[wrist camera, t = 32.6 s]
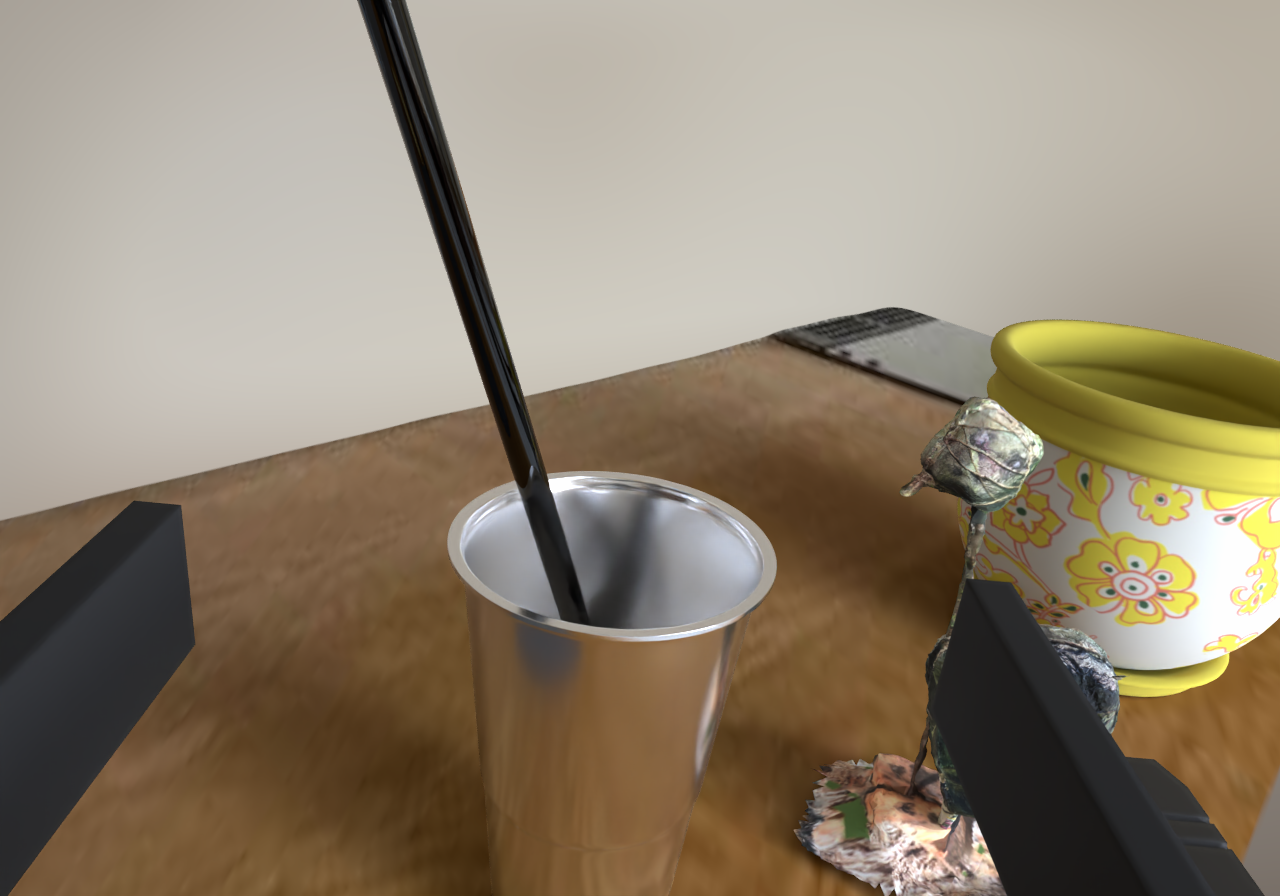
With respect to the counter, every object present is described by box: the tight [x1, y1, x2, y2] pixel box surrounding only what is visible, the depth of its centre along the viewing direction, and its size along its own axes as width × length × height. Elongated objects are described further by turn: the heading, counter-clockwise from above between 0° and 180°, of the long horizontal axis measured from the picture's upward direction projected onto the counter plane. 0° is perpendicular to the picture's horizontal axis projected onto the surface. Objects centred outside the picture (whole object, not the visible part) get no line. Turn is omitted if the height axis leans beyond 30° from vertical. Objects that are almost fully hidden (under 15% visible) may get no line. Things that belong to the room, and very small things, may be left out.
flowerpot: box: [958, 320, 1280, 697], centre depth 53 cm, size 18×18×16 cm
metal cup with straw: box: [357, 0, 777, 896], centre depth 29 cm, size 11×11×30 cm
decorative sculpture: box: [794, 397, 1130, 896], centre depth 35 cm, size 8×11×20 cm
